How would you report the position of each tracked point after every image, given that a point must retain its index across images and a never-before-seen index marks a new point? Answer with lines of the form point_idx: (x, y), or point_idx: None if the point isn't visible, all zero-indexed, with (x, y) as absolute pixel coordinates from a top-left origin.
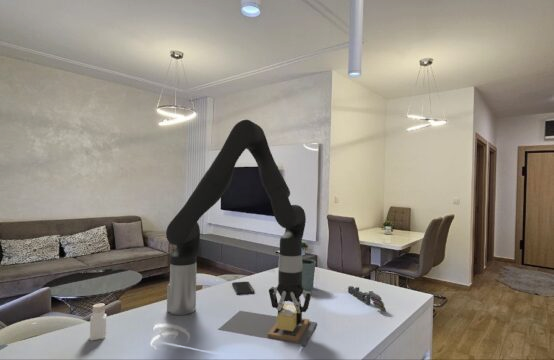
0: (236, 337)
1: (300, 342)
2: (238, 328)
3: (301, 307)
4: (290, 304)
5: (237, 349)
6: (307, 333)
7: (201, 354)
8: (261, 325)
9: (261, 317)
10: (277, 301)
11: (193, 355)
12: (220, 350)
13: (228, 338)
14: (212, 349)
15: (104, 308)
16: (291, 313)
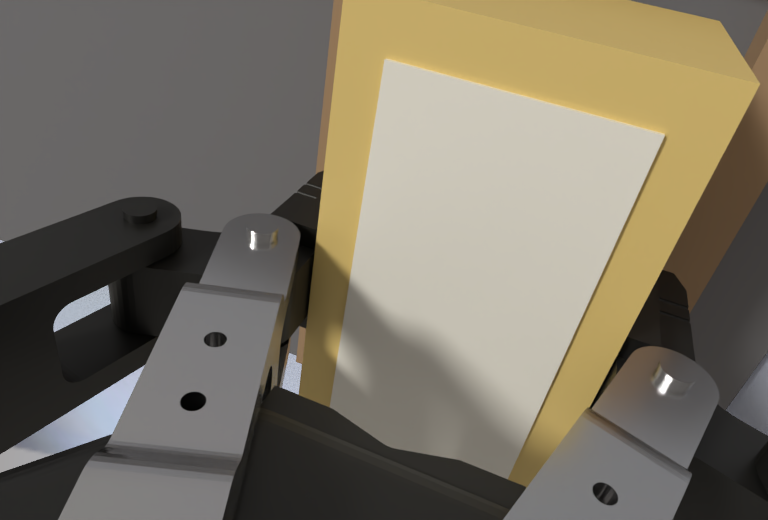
0: (101, 300)
1: None
2: (38, 192)
3: (685, 493)
4: (438, 16)
5: None
6: (747, 297)
7: (54, 448)
8: (183, 113)
9: None
10: (136, 247)
11: (31, 450)
12: (107, 430)
13: (66, 310)
14: (67, 416)
15: None
16: (481, 453)
